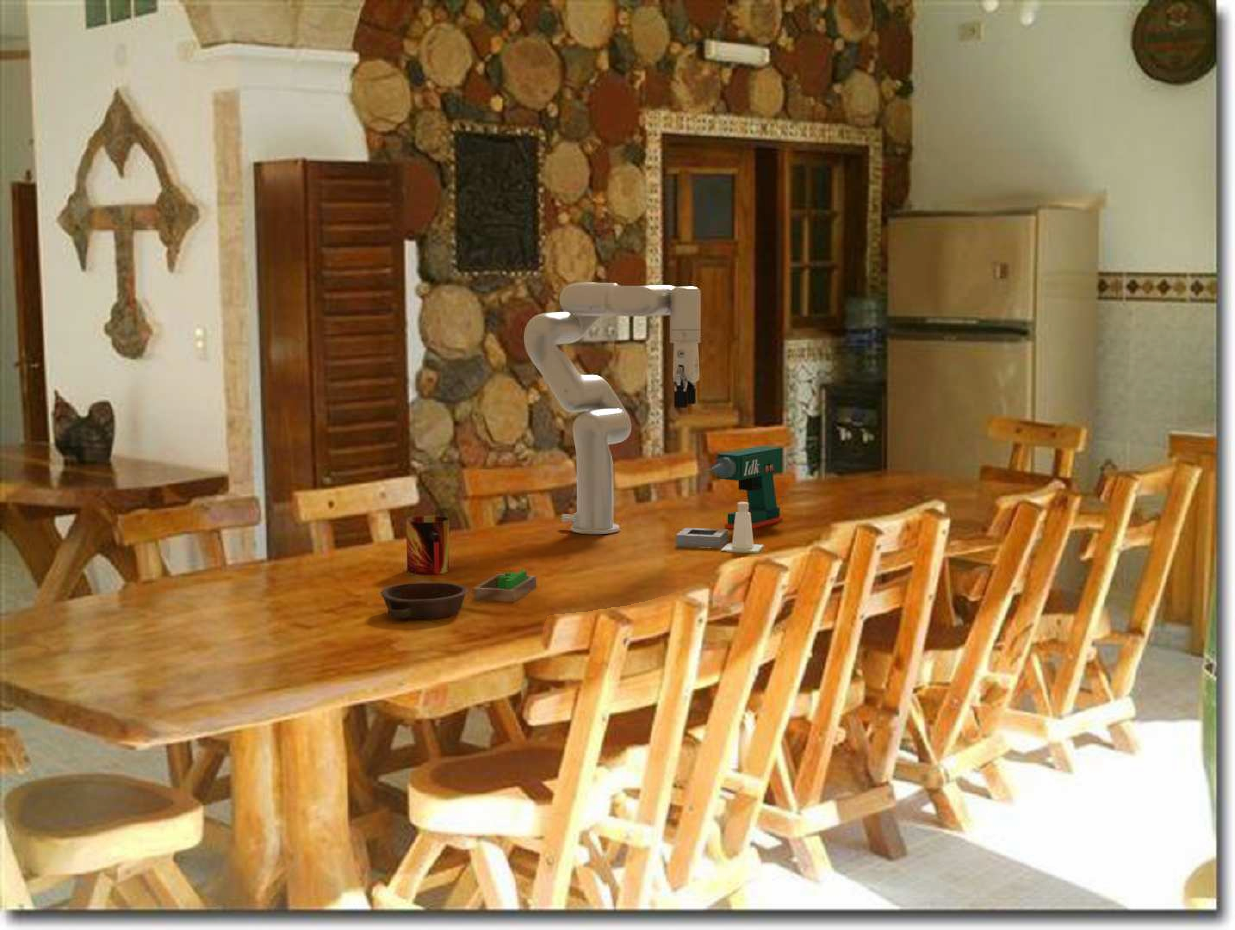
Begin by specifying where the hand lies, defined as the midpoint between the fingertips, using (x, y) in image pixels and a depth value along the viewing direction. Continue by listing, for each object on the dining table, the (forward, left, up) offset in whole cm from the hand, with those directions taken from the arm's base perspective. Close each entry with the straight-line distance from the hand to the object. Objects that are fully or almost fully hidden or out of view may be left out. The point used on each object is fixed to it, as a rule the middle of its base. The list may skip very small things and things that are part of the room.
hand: (685, 405), depth 417 cm
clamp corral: (-24, -71, -34) cm, 82 cm away
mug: (-47, -52, -35) cm, 78 cm away
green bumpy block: (-22, -72, -35) cm, 83 cm away
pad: (+16, -7, -34) cm, 38 cm away
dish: (-34, -93, -35) cm, 105 cm away
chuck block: (+5, -2, -34) cm, 35 cm away
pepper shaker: (+16, -7, -34) cm, 38 cm away
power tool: (+10, +24, -35) cm, 43 cm away
